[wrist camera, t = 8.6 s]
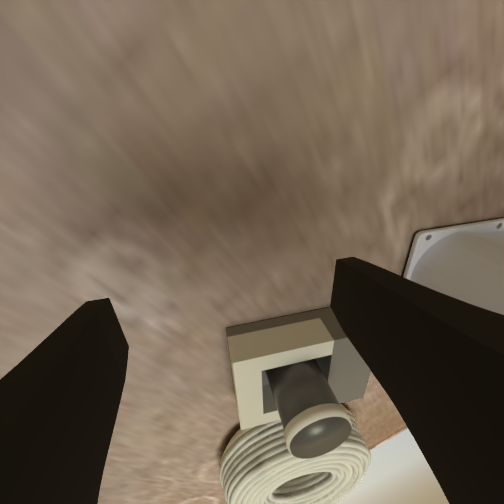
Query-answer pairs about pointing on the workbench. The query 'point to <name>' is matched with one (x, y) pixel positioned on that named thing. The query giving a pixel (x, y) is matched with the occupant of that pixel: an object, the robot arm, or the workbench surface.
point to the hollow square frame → (291, 360)
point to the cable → (289, 468)
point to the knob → (308, 409)
